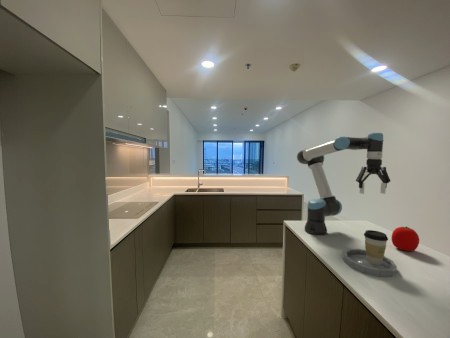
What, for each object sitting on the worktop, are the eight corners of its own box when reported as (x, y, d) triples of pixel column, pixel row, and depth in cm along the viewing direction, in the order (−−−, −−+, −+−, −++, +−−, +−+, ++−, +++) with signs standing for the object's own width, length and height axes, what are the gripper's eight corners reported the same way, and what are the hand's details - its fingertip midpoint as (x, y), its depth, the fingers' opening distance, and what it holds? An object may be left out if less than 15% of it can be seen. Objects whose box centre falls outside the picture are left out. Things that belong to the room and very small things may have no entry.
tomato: (394, 251, 116) (395, 227, 115) (388, 243, 126) (389, 221, 125) (422, 256, 111) (424, 231, 110) (414, 247, 121) (415, 225, 120)
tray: (335, 254, 112) (335, 249, 111) (371, 253, 113) (371, 248, 113) (363, 277, 90) (364, 270, 90) (408, 276, 92) (408, 269, 91)
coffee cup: (391, 268, 96) (393, 237, 95) (369, 266, 97) (370, 236, 96) (378, 257, 106) (380, 230, 105) (358, 256, 107) (360, 229, 106)
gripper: (359, 158, 116) (357, 194, 117) (399, 159, 117) (397, 194, 119) (350, 158, 123) (348, 192, 125) (388, 158, 125) (386, 192, 126)
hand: (372, 193), depth 122 cm, fingers open, 13 cm apart
